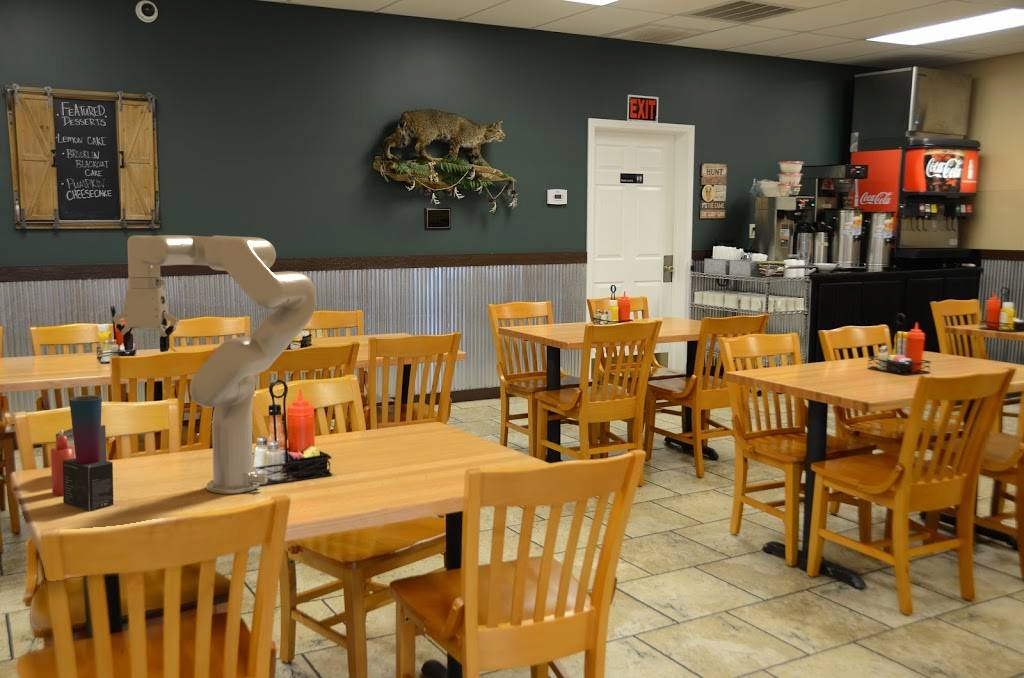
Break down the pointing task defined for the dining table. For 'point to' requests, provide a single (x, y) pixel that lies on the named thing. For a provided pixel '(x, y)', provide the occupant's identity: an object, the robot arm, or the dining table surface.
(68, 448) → the ketchup bottle
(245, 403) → the robot arm
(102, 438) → the napkin holder
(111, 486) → the box
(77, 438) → the cup
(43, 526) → the dining table surface
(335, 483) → the dining table surface
